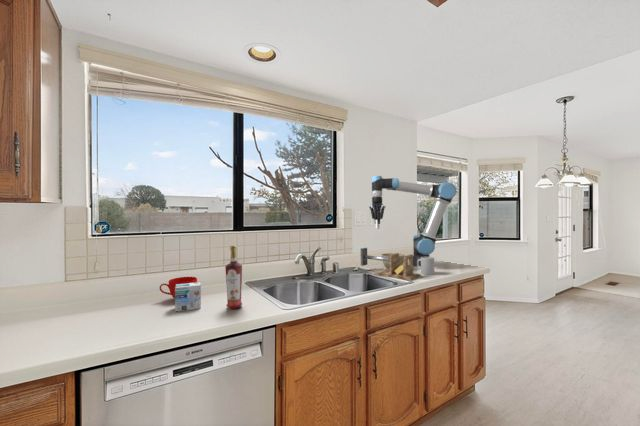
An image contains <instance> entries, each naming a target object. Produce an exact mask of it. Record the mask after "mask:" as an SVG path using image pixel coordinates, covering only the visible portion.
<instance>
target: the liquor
mask: <svg viewBox="0 0 640 426" xmlns="http://www.w3.org/2000/svg"><path fill="white" fill-rule="evenodd" d="M237 247H238V246H237V245H235V244H233V245H230V248H229V249H230V260H229V261H230V262H229V263H228V264H226V265H225V283H226V297H227V301H226V303H227V304H226V307H227V308H228V309H229V310H237V309H240V307H241V306H242V305H243V303H242V285H243V283H242V279H243V264H241V263H239V262H238V258H237Z"/></svg>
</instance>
